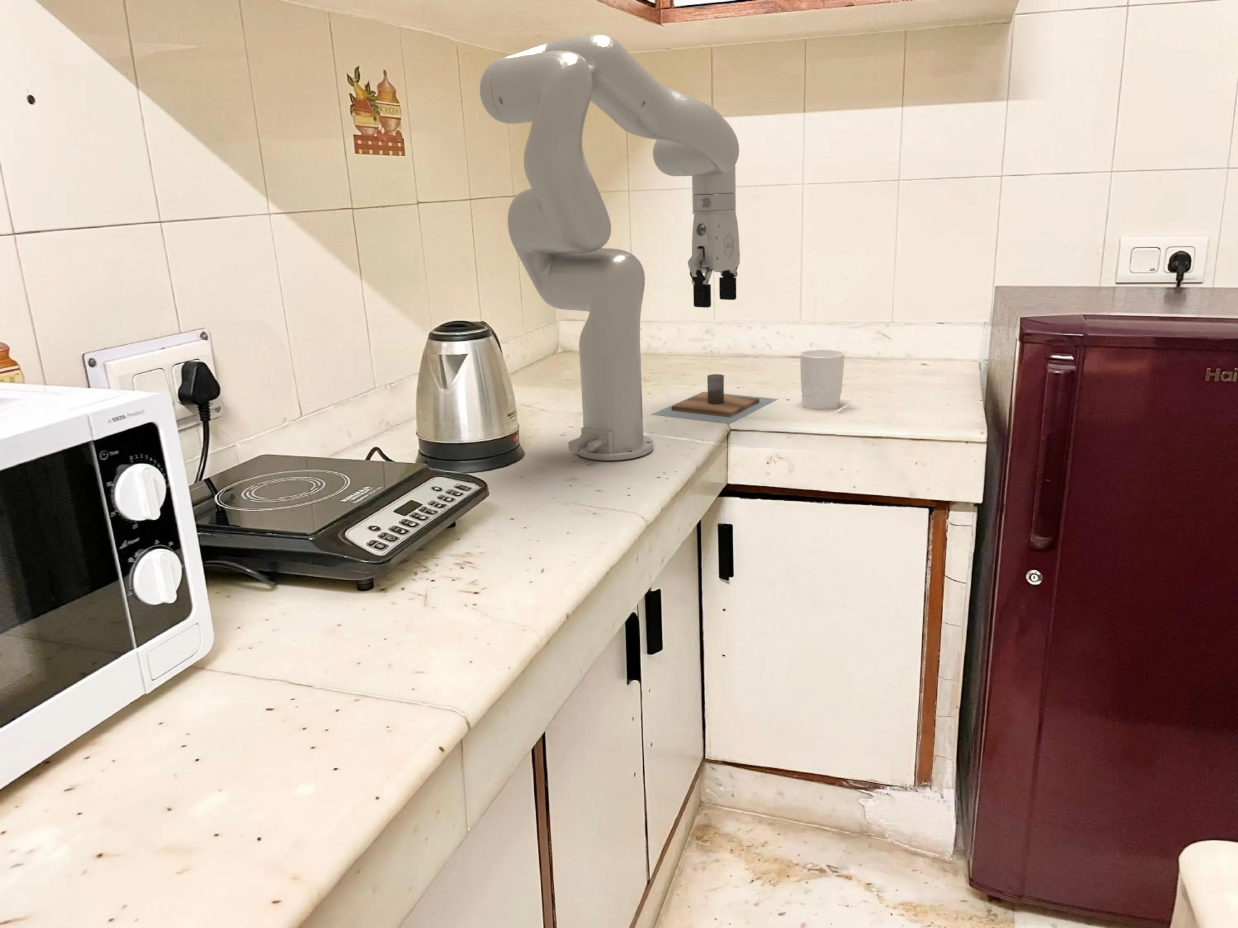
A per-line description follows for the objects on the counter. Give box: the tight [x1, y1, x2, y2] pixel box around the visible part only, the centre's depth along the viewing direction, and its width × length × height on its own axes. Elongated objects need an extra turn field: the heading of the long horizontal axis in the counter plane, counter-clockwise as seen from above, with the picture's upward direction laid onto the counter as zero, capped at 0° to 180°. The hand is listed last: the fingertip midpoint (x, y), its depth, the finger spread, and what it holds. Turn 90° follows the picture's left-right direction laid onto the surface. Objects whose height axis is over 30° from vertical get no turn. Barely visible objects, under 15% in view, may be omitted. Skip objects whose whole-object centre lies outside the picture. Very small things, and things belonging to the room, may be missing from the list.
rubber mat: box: [651, 391, 779, 425], centre depth 171 cm, size 20×16×1 cm
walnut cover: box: [672, 373, 759, 417], centre depth 170 cm, size 12×12×6 cm
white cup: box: [799, 349, 846, 411], centre depth 167 cm, size 8×8×10 cm
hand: (715, 303), depth 165 cm, fingers open, 9 cm apart
